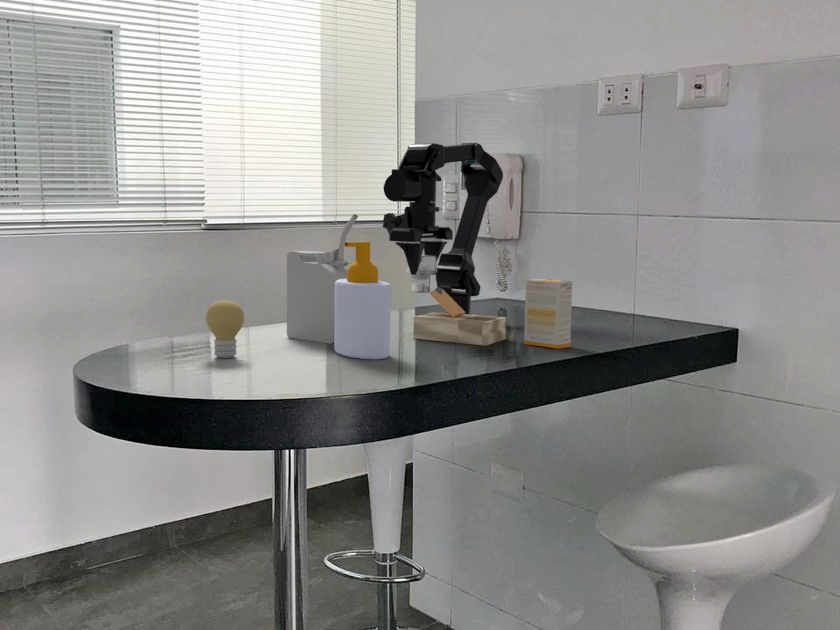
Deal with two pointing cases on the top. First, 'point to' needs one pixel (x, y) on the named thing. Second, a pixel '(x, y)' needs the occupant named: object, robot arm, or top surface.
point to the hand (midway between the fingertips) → (421, 273)
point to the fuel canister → (314, 291)
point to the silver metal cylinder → (423, 274)
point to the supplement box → (548, 312)
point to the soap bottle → (362, 309)
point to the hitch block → (460, 328)
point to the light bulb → (225, 326)
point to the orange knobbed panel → (447, 302)
